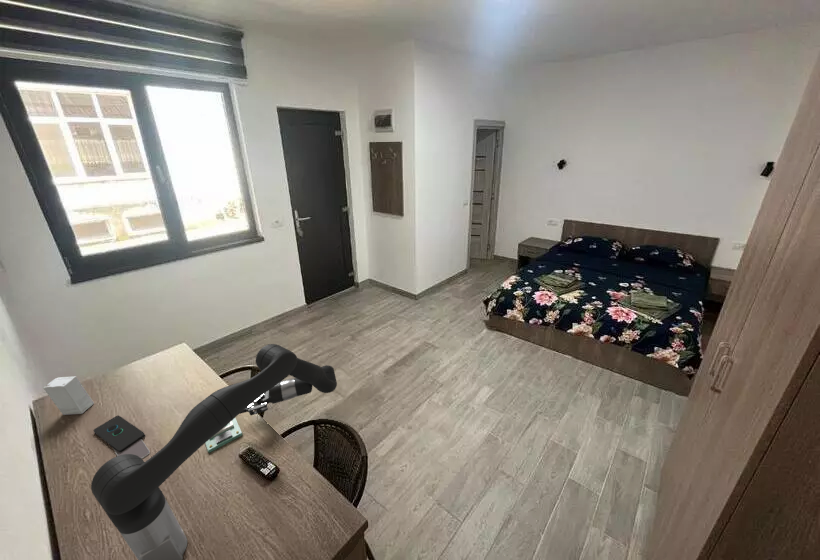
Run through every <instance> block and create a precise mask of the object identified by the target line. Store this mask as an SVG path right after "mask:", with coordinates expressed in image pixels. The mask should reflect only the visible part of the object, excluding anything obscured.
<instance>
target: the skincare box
mask: <svg viewBox="0 0 820 560" xmlns="http://www.w3.org/2000/svg"><path fill="white" fill-rule="evenodd" d="M43 390H44V392H45V393H46V394H47V396H49V398H50V400H51V401H52V402H53V404H54V405H55V406H56V407H57V409H58V410H59V411H60V413H61V414H62V416H65V415H66V416H67V415H82V414H83V413H85V412H86V411H87V410H88V409H89V408H91V407H92V406H93V405H94V404H95V402H94V400H93V399H92V398H91V396H90V395H89V393H88V392H87V391H86V389H85V387H84V386H83V385H82V383H81V381H80V380H79V378H78V376H76V375H75V376H62V377H61V376H59V377H56V378H54V379H52V380H51V381H50V382H49V383H47V384H46V385H45V386H43Z"/></svg>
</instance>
